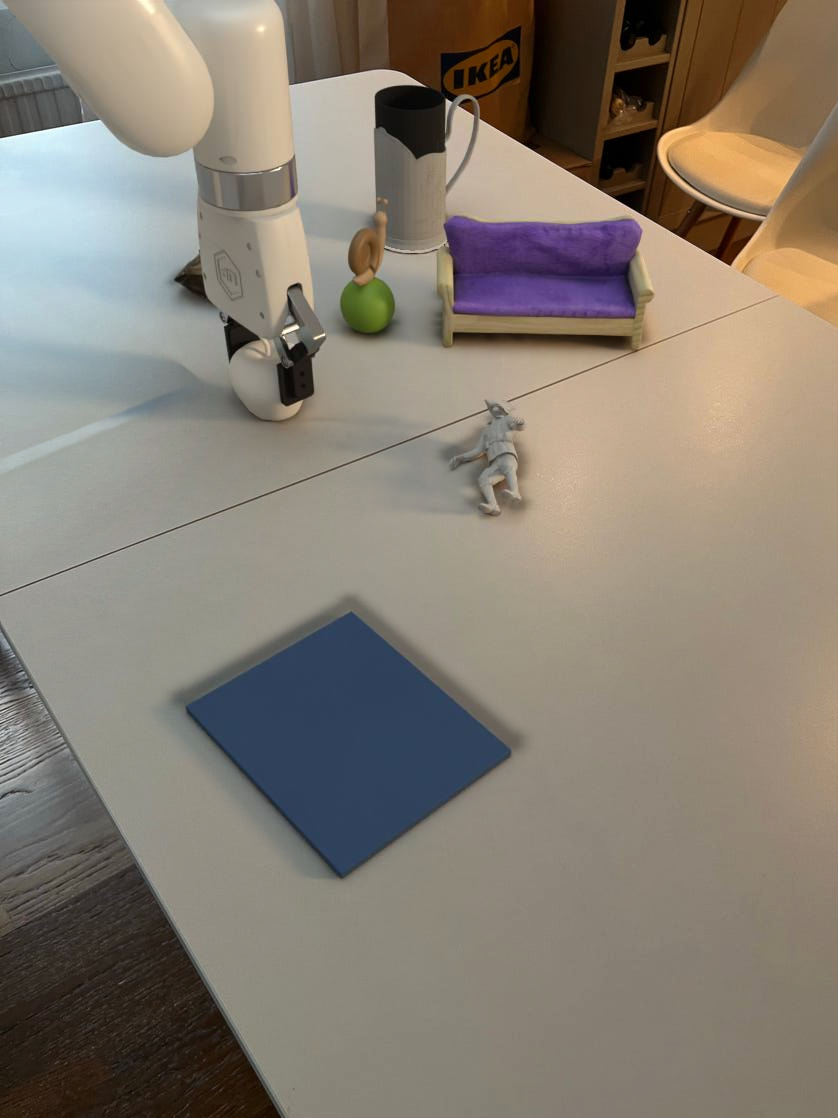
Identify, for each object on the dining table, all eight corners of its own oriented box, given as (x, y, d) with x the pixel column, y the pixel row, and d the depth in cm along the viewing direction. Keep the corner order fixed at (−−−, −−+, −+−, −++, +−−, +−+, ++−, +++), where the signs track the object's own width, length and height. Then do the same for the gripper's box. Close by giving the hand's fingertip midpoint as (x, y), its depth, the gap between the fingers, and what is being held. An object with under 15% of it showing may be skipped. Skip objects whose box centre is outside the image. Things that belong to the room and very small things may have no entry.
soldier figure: (450, 524, 86) (436, 407, 91) (488, 543, 89) (472, 429, 94) (522, 482, 81) (503, 362, 86) (559, 504, 85) (539, 387, 90)
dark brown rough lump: (169, 291, 103) (271, 306, 106) (173, 221, 102) (277, 237, 104) (177, 295, 111) (272, 309, 113) (180, 230, 109) (277, 245, 111)
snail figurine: (409, 319, 106) (408, 203, 98) (379, 348, 102) (375, 229, 94) (363, 306, 108) (358, 191, 99) (331, 334, 104) (323, 216, 95)
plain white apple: (243, 386, 97) (232, 307, 91) (319, 391, 97) (312, 312, 91) (227, 430, 92) (214, 349, 86) (307, 434, 92) (300, 354, 86)
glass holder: (357, 232, 119) (351, 93, 109) (450, 201, 126) (453, 67, 116) (405, 261, 115) (404, 119, 104) (498, 227, 122) (506, 90, 111)
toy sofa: (435, 349, 103) (436, 249, 95) (435, 305, 109) (437, 208, 101) (644, 354, 104) (662, 256, 96) (633, 310, 110) (649, 215, 102)
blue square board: (341, 879, 61) (341, 873, 61) (186, 711, 70) (185, 706, 69) (511, 755, 68) (511, 749, 68) (351, 616, 77) (351, 610, 76)
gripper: (144, 153, 82) (182, 353, 94) (272, 232, 73) (294, 440, 86) (225, 131, 85) (251, 327, 98) (356, 204, 77) (365, 408, 90)
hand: (271, 379), depth 92 cm, fingers closed on plain white apple, 7 cm apart
